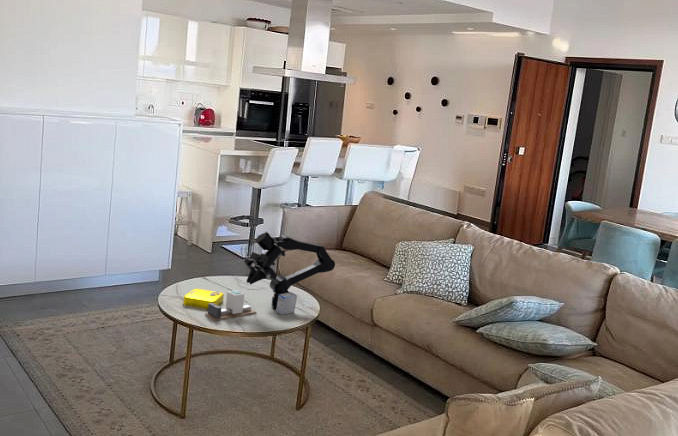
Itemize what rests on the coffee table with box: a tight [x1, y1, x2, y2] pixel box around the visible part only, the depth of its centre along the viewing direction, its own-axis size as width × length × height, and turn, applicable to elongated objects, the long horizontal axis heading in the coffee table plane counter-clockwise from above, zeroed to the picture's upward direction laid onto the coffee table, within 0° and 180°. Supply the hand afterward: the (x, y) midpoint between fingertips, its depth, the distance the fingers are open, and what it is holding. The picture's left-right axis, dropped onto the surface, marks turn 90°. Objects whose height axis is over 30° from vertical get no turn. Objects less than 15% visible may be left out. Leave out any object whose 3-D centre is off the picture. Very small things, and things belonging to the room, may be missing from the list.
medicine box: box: [275, 291, 298, 316], centre depth 316 cm, size 8×4×9 cm, turn 138°
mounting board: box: [204, 308, 257, 322], centre depth 305 cm, size 22×8×1 cm, turn 134°
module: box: [225, 289, 245, 314], centre depth 305 cm, size 5×6×9 cm
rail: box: [207, 303, 252, 318], centre depth 305 cm, size 20×7×5 cm, turn 134°
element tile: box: [182, 288, 224, 310], centre depth 316 cm, size 15×15×5 cm
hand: (248, 283), depth 309 cm, fingers closed
